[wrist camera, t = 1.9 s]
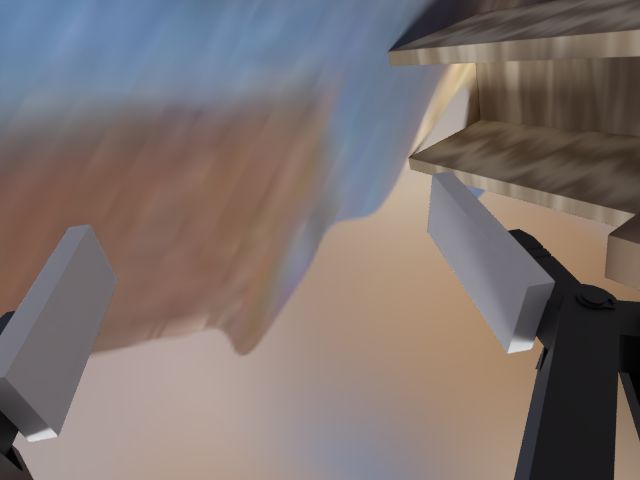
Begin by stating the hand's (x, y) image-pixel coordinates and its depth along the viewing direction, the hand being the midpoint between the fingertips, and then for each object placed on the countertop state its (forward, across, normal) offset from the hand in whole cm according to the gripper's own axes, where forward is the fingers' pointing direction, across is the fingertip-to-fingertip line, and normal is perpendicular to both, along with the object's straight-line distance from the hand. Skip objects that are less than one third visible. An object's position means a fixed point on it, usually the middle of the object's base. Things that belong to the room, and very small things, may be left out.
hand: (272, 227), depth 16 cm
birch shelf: (+34, +21, -7) cm, 40 cm away
